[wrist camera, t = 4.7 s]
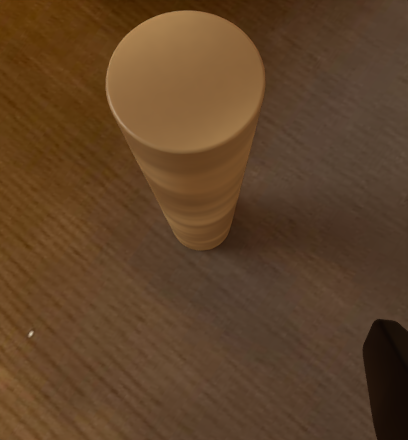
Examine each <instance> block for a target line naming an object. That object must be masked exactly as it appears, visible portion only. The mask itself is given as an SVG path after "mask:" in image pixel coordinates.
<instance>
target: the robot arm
mask: <svg viewBox="0 0 408 440" xmlns="http://www.w3.org/2000/svg"><path fill="white" fill-rule="evenodd" d="M363 359H364V366H365V372H366V379H367V385H368V392H369V399H370V405H371V412H372V418H373V423H374V428H375V432H376V437H377V440H408V331H407V330H406V329H405V328H403V327H402V326H401V325H400V324H399V323H398V322H396V321H392V320H383V319H377V320H375V321H374V322H373V324H372V326H371V329H370V331H369V333H368V335H367V338H366V340H365V342H364V345H363Z"/></svg>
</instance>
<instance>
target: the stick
mask: <svg viewBox="0 0 408 440" xmlns="http://www.w3.org/2000/svg"><path fill="white" fill-rule="evenodd" d="M265 86H266V77H265V69H264V65H263V61H262V59H261V56H260V54H259V52H258V50H257V48H256V47H255V45H254V43H253V42H252V41H251V40H250V38H249V37H248V36H247V35H246V34H245V33H244V32H243V31H242V30H241V29H240V28H238V27H237V26H236V25H234V24H233V23H231V22H229V21H227V20H226V19H224V18H221V17H219V16H216V15H213V14H210V13H206V12H200V11H175V12H169V13H165V14H161V15H158V16H155V17H153V18H151V19H148V20H147V21H145V22H143V23H141V24H140V25H138V26H137V27H136V28H134V29H133V30H132V31H131V32H129V33H128V34H127V35H126V36H125V37H124V39H123V40H122V41H121V42H120V43H119V45H118V46H117V48H116V50H115V51H114V53H113V55H112V57H111V60H110V63H109V66H108V69H107V75H106V94H107V100H108V103H109V106H110V109H111V111H112V113H113V115H114V117H115V119H116V121H117V123H118V125H119V127H120V129H121V131H122V133H123V135H124V137H125V139H126V141H127V143H128V145H129V147H130V149H131V151H132V153H133V154H134V156H135V158H136V160H137V162H138V164H139V166H140V168H141V170H142V172H143V174H144V176H145V178H146V180H147V182H148V184H149V186H150V188H151V190H152V191H153V193H154V195H155V197H156V199H157V201H158V203H159V205H160V207H161V209H162V211H163V213H164V215H165V217H166V219H167V221H168V223H169V225H170V227H171V228H172V230H173V232H174V234H175V236H176V238H177V239H178V240H179V241H180V242H181V243H182V244H183V245H184V246H186V247H188V248H190V249H193V250H199V251H203V250H209V249H212V248H214V247H216V246H218V245H220V244H221V243H222V242H223V241H224V240H225V238H226V237H227V235H228V233H229V231H230V228H231V224H232V220H233V216H234V212H235V208H236V204H237V200H238V196H239V193H240V189H241V185H242V181H243V177H244V173H245V169H246V165H247V161H248V157H249V153H250V150H251V146H252V142H253V138H254V134H255V130H256V126H257V122H258V118H259V114H260V110H261V107H262V103H263V99H264V94H265Z"/></svg>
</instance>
